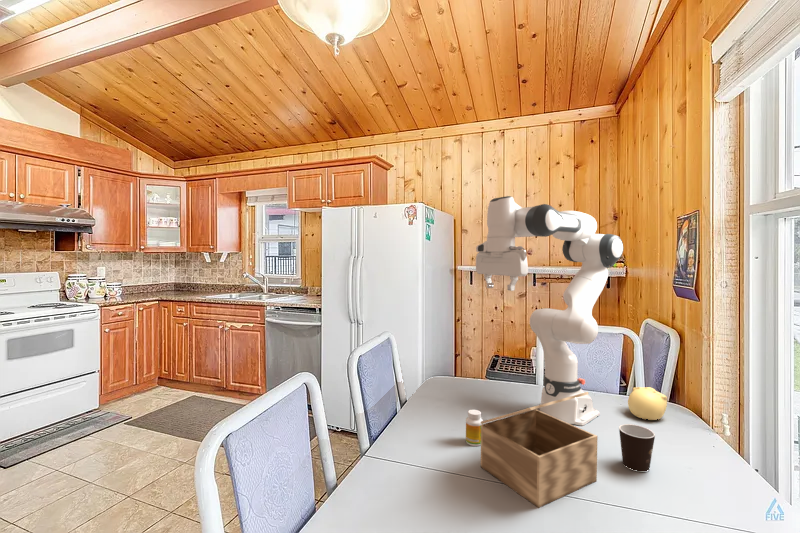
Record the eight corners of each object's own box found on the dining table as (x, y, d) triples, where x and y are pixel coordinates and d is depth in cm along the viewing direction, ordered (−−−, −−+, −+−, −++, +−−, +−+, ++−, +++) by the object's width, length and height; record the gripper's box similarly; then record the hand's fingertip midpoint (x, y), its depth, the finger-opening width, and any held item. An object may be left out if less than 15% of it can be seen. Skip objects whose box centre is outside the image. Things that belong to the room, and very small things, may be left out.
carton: (535, 448, 119) (536, 409, 119) (596, 481, 102) (597, 435, 101) (480, 467, 108) (481, 424, 108) (538, 508, 91) (539, 457, 90)
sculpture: (671, 418, 141) (671, 389, 141) (656, 426, 134) (656, 395, 134) (637, 408, 151) (638, 380, 150) (621, 415, 144) (622, 386, 143)
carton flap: (536, 408, 119) (535, 406, 119) (588, 394, 103) (587, 391, 104) (481, 424, 108) (480, 421, 108) (531, 410, 92) (530, 407, 93)
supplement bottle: (483, 447, 119) (483, 416, 119) (465, 445, 120) (465, 414, 120) (482, 439, 125) (483, 409, 124) (465, 437, 126) (466, 408, 125)
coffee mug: (642, 477, 103) (643, 440, 103) (611, 462, 111) (612, 427, 111) (667, 467, 109) (668, 431, 108) (636, 453, 116) (637, 420, 116)
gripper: (533, 246, 118) (532, 291, 119) (486, 247, 136) (486, 286, 136) (518, 245, 115) (517, 292, 116) (472, 246, 133) (472, 287, 133)
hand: (500, 289), depth 126 cm, fingers open, 8 cm apart
